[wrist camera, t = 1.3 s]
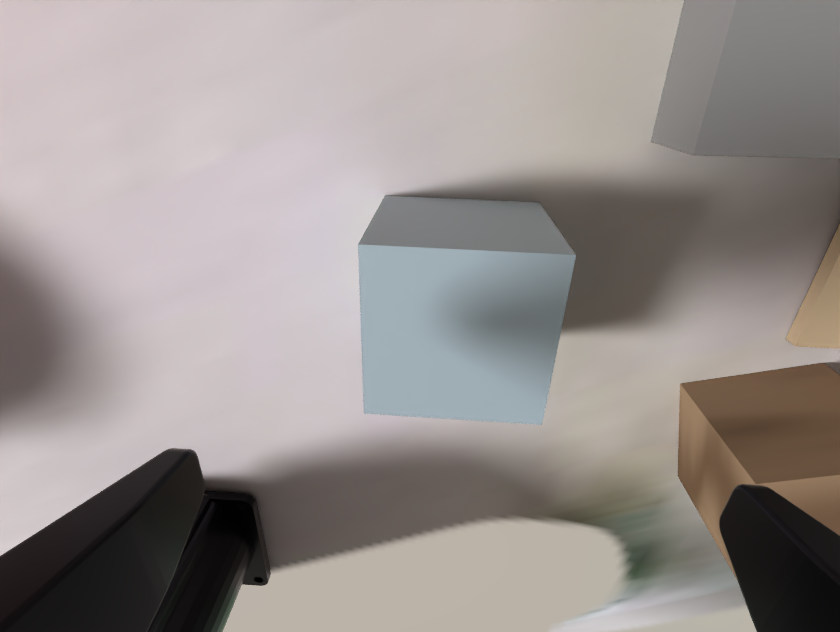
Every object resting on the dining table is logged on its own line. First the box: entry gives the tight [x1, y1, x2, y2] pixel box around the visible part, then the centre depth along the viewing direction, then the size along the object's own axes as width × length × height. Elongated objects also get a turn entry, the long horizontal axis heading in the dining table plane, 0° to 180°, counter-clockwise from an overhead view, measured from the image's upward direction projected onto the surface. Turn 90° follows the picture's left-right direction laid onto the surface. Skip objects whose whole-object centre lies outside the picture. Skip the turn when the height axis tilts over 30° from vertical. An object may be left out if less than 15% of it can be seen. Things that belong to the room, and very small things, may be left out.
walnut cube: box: [678, 363, 840, 578], centre depth 16 cm, size 5×5×5 cm
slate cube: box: [358, 196, 576, 425], centre depth 14 cm, size 5×5×5 cm
